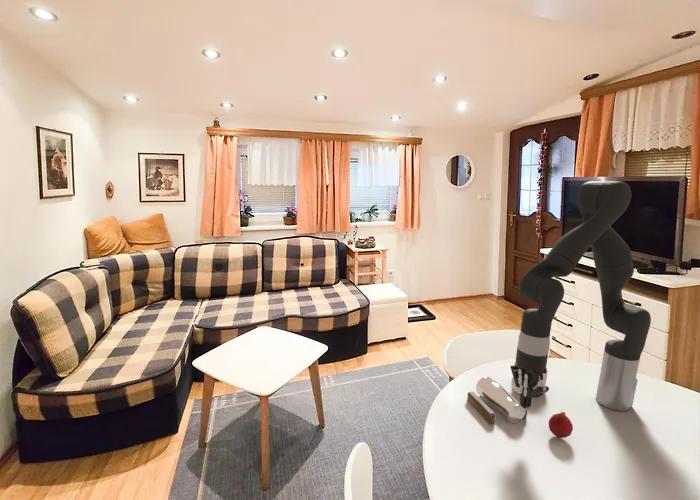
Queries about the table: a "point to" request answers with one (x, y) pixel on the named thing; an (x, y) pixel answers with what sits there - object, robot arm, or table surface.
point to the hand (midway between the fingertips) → (524, 406)
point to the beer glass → (500, 399)
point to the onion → (560, 425)
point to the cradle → (485, 408)
